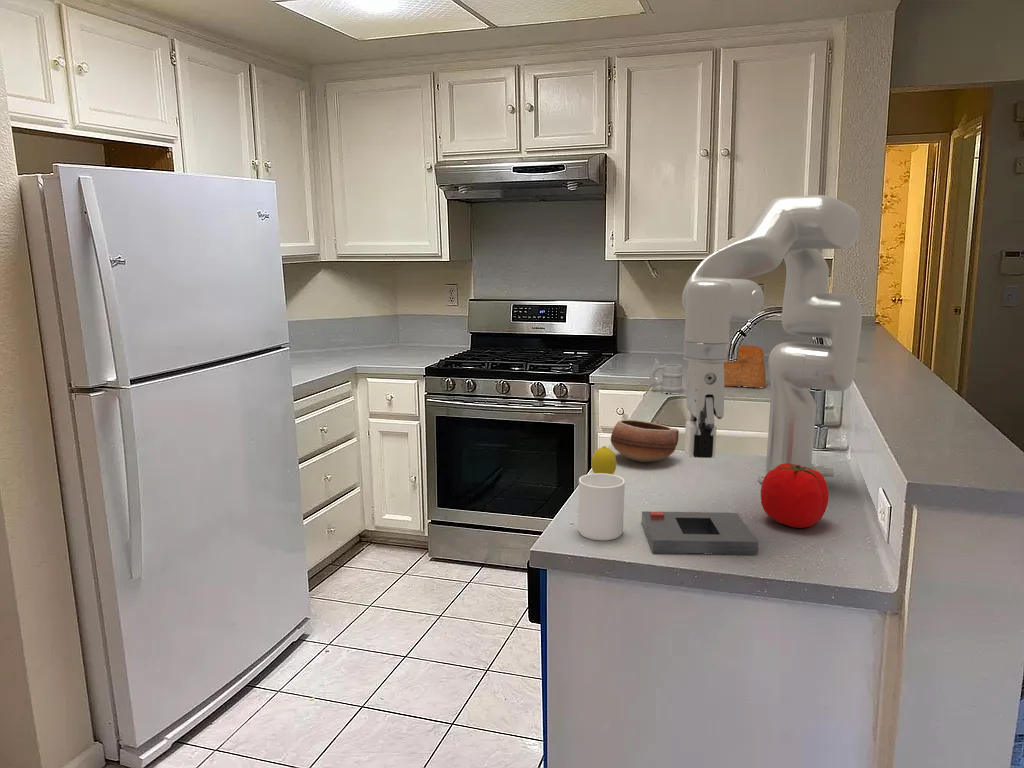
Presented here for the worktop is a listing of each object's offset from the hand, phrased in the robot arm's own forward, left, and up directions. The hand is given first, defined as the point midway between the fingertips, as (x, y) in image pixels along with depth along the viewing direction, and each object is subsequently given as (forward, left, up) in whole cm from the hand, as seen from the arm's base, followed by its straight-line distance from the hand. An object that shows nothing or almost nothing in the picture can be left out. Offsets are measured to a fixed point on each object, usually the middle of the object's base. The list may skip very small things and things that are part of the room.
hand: (699, 452), depth 134 cm
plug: (0, 0, 0) cm, 0 cm away
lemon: (+14, -32, -16) cm, 39 cm away
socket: (0, +1, -16) cm, 16 cm away
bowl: (+3, -48, -16) cm, 51 cm away
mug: (-17, -134, -16) cm, 136 cm away
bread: (-43, -151, -16) cm, 158 cm away
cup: (+17, -3, -16) cm, 24 cm away
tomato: (-20, -8, -16) cm, 27 cm away
